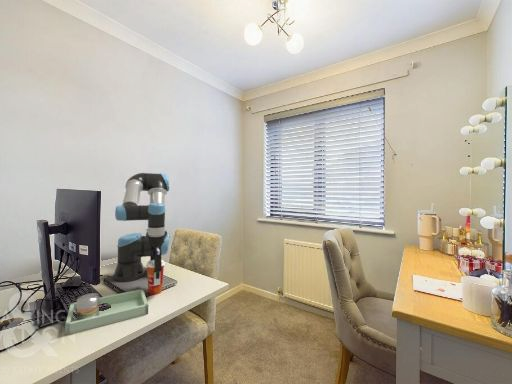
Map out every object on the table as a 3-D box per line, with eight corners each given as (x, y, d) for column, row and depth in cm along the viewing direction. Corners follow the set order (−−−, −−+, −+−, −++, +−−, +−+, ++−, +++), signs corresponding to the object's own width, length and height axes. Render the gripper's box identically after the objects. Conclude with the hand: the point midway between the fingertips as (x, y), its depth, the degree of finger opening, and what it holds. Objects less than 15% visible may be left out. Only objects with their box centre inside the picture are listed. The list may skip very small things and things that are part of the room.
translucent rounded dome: (77, 315, 90) (77, 295, 89) (99, 310, 94) (99, 291, 93) (75, 325, 84) (75, 304, 83) (99, 320, 88) (99, 299, 87)
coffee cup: (143, 291, 113) (143, 261, 112) (160, 286, 119) (160, 257, 118) (149, 297, 107) (150, 266, 106) (167, 292, 113) (167, 262, 112)
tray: (70, 314, 92) (70, 303, 92) (142, 298, 106) (142, 288, 106) (65, 338, 79) (65, 325, 79) (148, 316, 93) (148, 305, 93)
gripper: (144, 231, 119) (143, 274, 120) (151, 241, 101) (150, 292, 102) (160, 230, 123) (159, 272, 124) (169, 239, 105) (168, 288, 106)
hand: (155, 281), depth 113 cm, fingers closed on coffee cup, 8 cm apart
